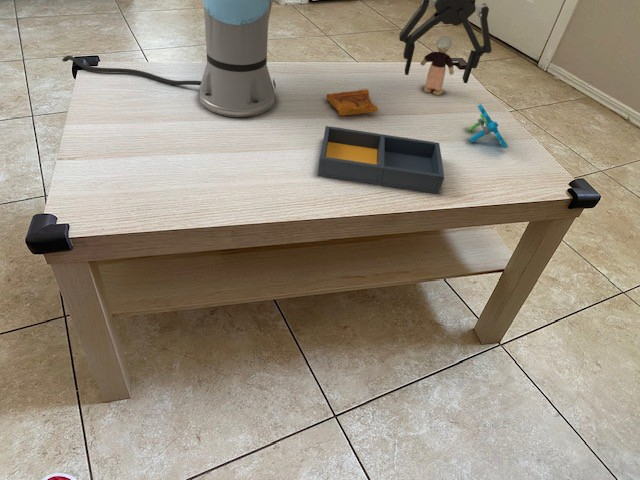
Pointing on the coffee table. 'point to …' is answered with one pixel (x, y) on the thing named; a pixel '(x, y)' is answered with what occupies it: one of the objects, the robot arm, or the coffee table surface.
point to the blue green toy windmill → (486, 127)
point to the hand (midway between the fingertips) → (435, 76)
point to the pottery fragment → (352, 102)
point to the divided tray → (381, 160)
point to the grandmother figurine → (438, 65)
